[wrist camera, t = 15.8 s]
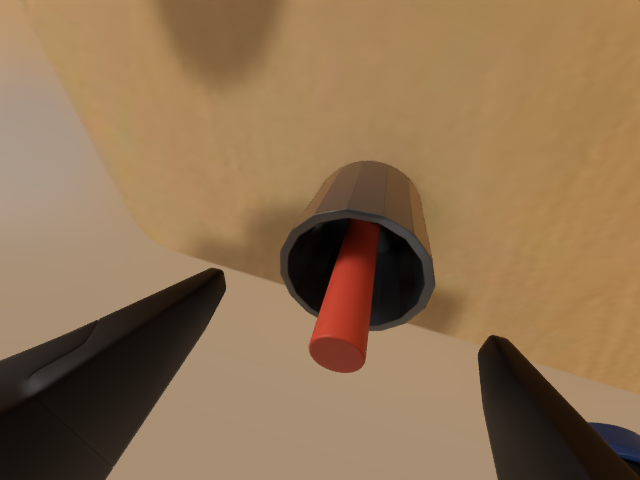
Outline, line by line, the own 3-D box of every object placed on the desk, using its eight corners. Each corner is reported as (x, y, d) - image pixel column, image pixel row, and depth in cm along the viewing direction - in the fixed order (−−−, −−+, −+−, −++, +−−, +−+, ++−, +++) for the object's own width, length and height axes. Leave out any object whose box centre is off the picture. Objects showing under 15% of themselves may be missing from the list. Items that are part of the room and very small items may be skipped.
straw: (378, 228, 15) (359, 380, 7) (350, 222, 15) (306, 364, 8) (384, 203, 14) (370, 346, 6) (354, 197, 14) (309, 330, 7)
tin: (405, 262, 16) (408, 345, 11) (313, 243, 17) (280, 312, 12) (436, 170, 13) (461, 229, 8) (321, 153, 14) (279, 196, 9)
